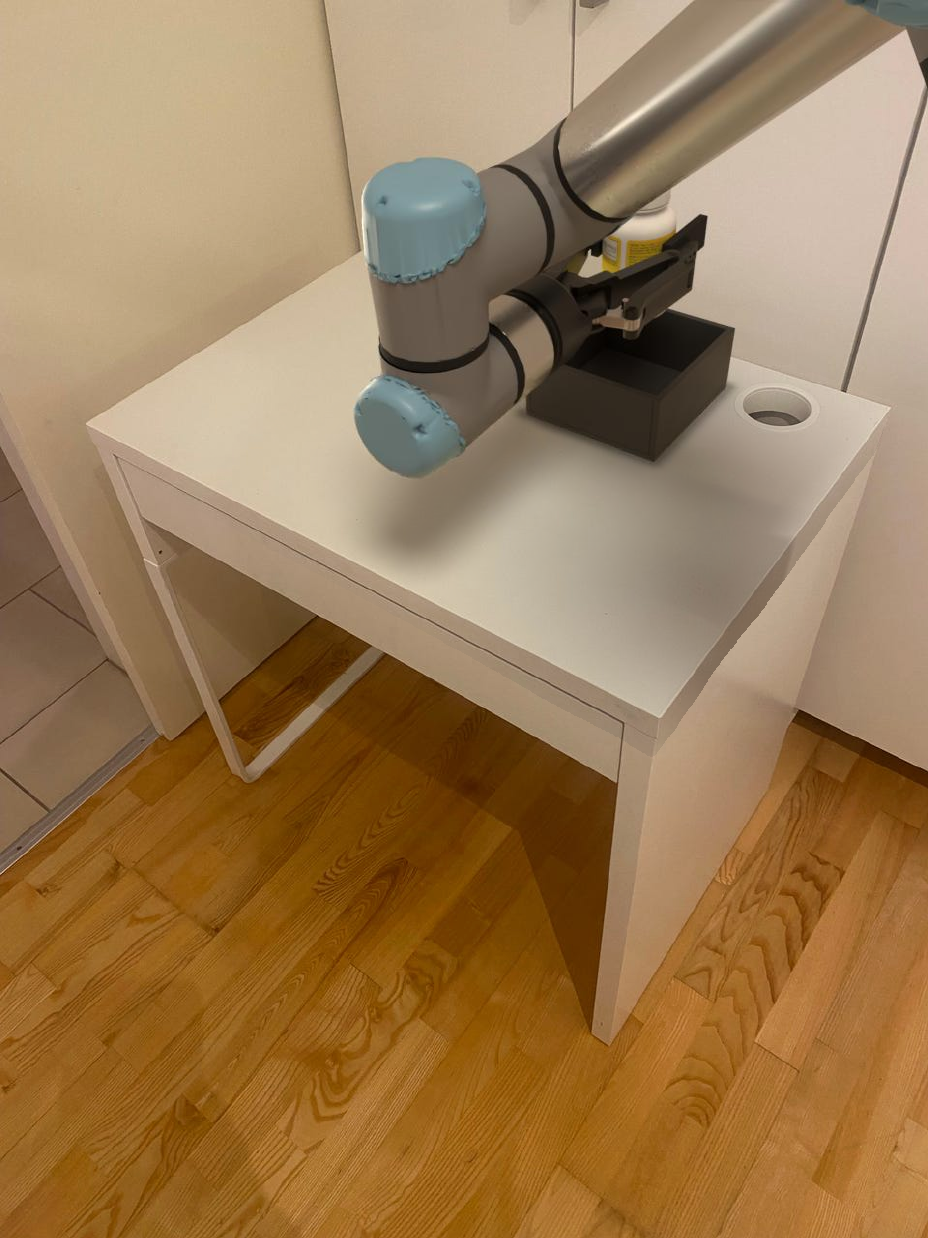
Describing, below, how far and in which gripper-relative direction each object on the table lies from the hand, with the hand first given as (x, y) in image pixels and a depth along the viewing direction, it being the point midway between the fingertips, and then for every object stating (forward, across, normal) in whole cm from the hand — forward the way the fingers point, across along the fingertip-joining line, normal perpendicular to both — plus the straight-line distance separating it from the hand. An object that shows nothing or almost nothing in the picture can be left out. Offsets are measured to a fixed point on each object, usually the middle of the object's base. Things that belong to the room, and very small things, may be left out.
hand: (666, 221), depth 85 cm
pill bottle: (-5, 0, -6) cm, 8 cm away
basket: (-5, 0, -16) cm, 17 cm away
